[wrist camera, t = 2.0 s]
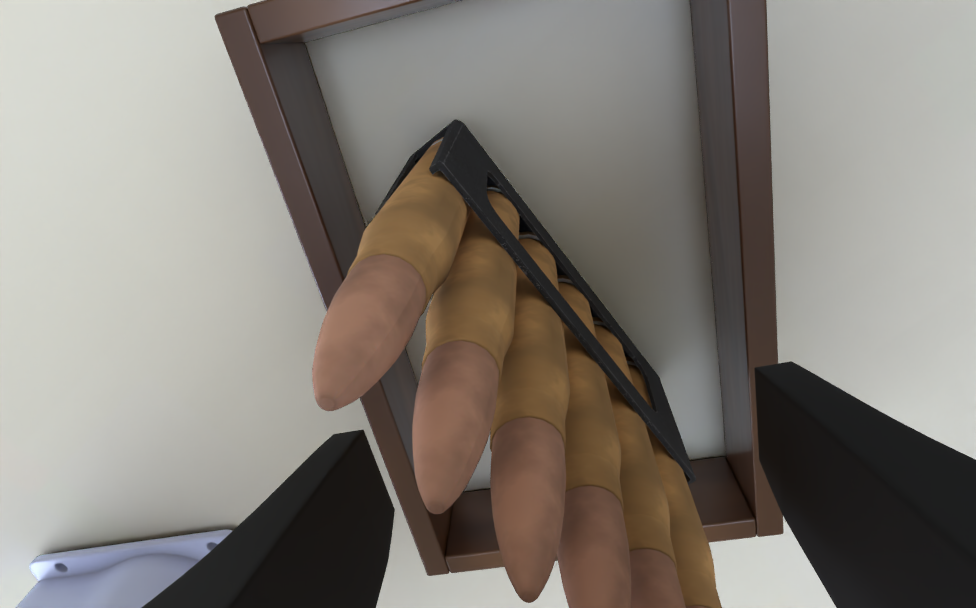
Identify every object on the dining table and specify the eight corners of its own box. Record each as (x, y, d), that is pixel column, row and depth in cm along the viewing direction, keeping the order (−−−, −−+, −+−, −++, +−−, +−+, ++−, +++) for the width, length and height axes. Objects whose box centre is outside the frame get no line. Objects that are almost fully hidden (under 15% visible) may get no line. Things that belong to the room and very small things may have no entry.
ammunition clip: (408, 157, 17) (197, 387, 6) (458, 116, 16) (324, 287, 5) (613, 406, 20) (718, 850, 9) (661, 379, 19) (831, 818, 9)
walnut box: (438, 511, 23) (427, 577, 20) (266, 17, 15) (211, 14, 13) (750, 469, 21) (784, 534, 18) (716, -107, 14) (763, -141, 11)
